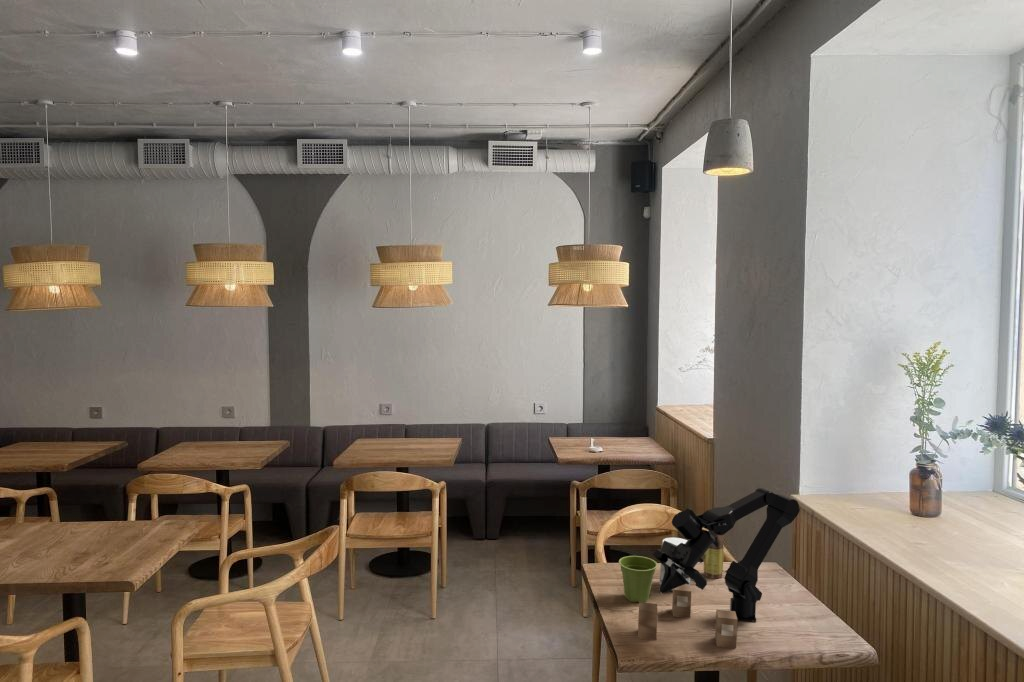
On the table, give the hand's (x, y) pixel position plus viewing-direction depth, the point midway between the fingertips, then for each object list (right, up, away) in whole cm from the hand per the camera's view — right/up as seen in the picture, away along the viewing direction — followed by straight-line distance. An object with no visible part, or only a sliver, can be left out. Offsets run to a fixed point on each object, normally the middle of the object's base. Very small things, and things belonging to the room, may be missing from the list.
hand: (660, 592), depth 202 cm
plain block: (-4, -11, -1) cm, 12 cm away
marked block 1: (+9, -11, +13) cm, 19 cm away
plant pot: (-3, -10, +23) cm, 25 cm away
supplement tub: (+11, -10, +33) cm, 36 cm away
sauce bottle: (+26, -9, +42) cm, 51 cm away
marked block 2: (+17, -12, -5) cm, 21 cm away
